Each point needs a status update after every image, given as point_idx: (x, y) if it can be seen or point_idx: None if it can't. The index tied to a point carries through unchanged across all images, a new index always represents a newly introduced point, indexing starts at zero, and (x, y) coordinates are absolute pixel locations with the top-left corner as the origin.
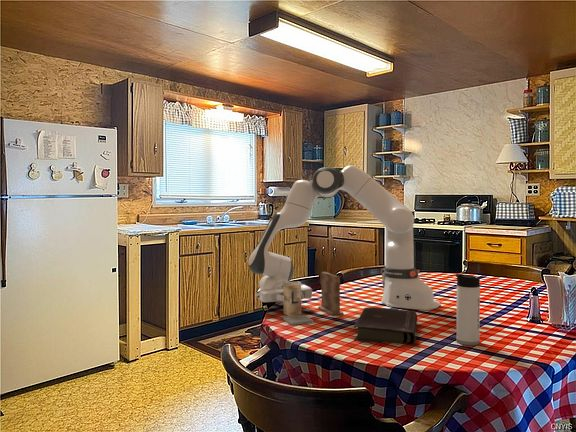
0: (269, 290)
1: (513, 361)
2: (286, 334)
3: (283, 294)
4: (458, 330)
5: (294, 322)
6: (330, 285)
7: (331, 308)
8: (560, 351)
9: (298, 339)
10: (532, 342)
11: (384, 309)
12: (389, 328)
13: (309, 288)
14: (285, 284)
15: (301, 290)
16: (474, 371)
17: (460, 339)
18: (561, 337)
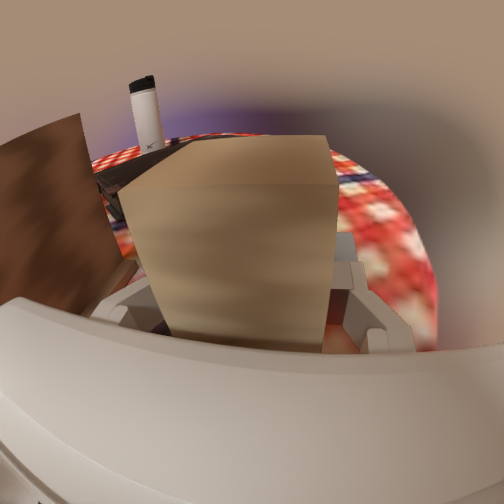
0: (487, 486)
1: (183, 139)
2: (384, 201)
3: (325, 321)
4: (161, 139)
5: (339, 232)
6: (51, 181)
7: (97, 276)
8: (134, 147)
9: (364, 182)
10: (119, 155)
11: (108, 178)
12: (220, 137)
13: (11, 302)
14: (325, 158)
15: (72, 314)
16: (230, 133)
17: (165, 147)
18: (93, 161)
